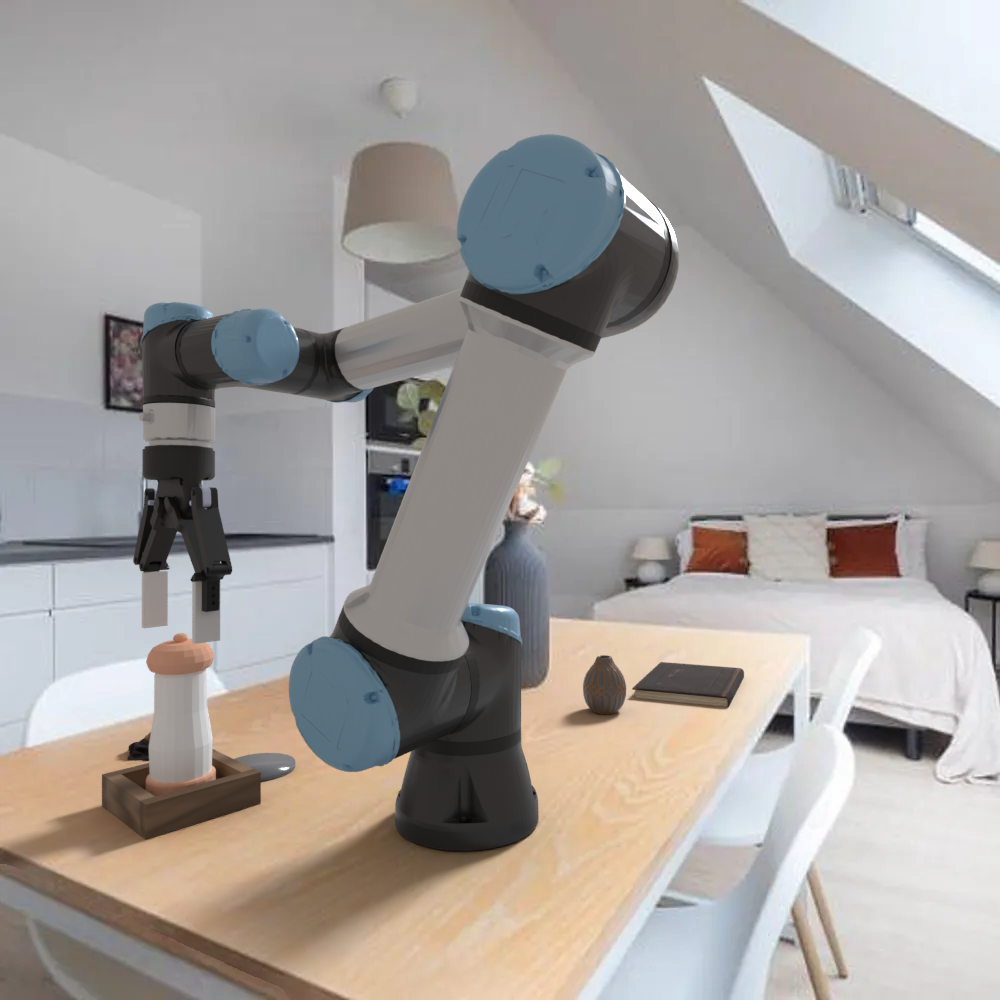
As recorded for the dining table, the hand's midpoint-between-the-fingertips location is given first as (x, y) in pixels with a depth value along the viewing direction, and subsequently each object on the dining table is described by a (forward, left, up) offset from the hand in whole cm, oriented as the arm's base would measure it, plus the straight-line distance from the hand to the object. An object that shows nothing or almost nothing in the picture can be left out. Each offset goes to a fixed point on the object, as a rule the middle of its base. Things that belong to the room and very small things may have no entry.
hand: (179, 634), depth 85 cm
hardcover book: (-15, -87, -20) cm, 90 cm away
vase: (-13, -63, -19) cm, 67 cm away
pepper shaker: (0, 0, -19) cm, 19 cm away
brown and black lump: (+21, -7, -20) cm, 30 cm away
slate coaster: (+4, -12, -19) cm, 23 cm away
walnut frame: (0, 0, -19) cm, 19 cm away
